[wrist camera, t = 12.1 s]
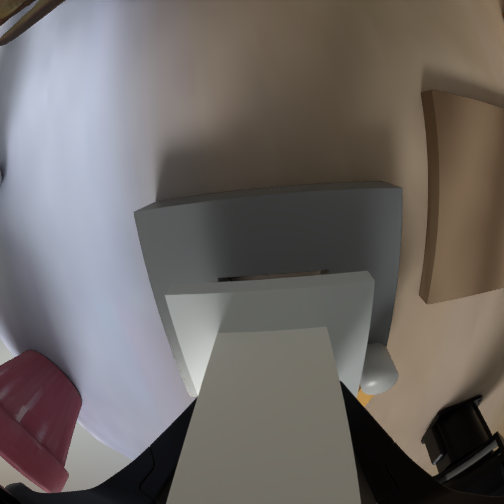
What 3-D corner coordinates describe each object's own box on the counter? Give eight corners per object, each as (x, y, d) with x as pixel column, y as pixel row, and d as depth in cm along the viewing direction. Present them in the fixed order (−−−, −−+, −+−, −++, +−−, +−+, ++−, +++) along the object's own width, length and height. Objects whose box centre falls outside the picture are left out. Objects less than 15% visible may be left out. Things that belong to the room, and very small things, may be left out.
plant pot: (4, 351, 22) (-46, 406, 10) (22, 308, 18) (-59, 384, 6) (77, 426, 26) (41, 490, 14) (122, 411, 22) (76, 509, 10)
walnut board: (533, 124, 9) (543, 125, 8) (524, 273, 13) (532, 279, 12) (420, 93, 11) (431, 89, 9) (418, 294, 15) (426, 304, 13)
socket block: (381, 181, 13) (402, 187, 10) (367, 361, 17) (376, 386, 14) (155, 202, 14) (133, 211, 12) (198, 371, 18) (189, 396, 16)
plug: (350, 247, 11) (477, 468, 2) (342, 367, 14) (374, 538, 4) (190, 259, 12) (55, 464, 3) (217, 374, 14) (176, 539, 5)
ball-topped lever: (364, 340, 13) (380, 380, 10) (393, 345, 13) (412, 383, 10) (273, 460, 18) (271, 488, 15) (295, 462, 18) (295, 490, 15)
